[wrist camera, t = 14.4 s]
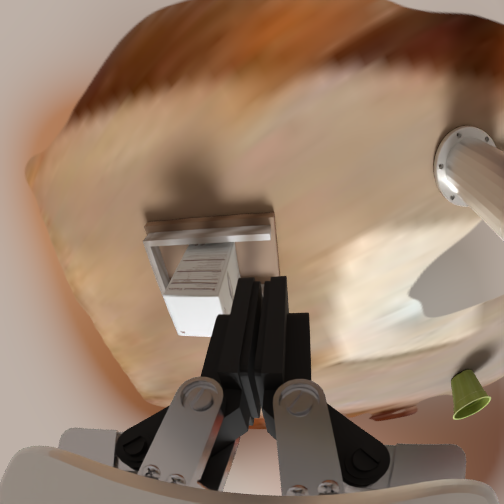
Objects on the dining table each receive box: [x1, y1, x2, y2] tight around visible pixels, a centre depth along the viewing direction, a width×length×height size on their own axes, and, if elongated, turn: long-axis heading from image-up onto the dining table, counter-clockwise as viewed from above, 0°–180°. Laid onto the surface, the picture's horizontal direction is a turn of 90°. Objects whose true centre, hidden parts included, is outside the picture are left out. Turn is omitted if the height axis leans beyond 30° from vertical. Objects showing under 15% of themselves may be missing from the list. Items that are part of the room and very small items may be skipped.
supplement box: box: [163, 242, 241, 337], centre depth 42 cm, size 7×7×13 cm
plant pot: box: [451, 370, 491, 420], centre depth 58 cm, size 12×12×11 cm
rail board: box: [143, 212, 280, 299], centre depth 46 cm, size 20×14×4 cm
